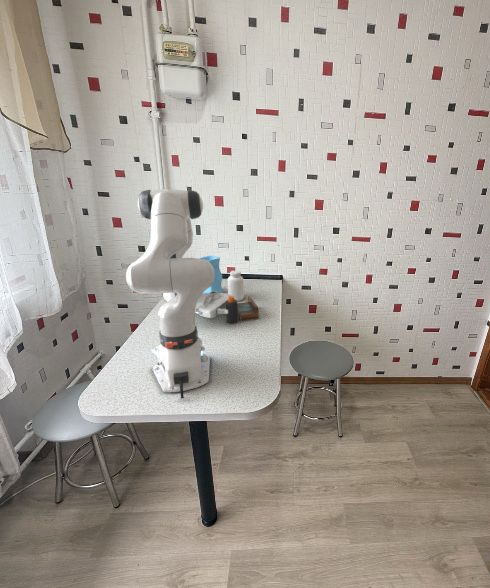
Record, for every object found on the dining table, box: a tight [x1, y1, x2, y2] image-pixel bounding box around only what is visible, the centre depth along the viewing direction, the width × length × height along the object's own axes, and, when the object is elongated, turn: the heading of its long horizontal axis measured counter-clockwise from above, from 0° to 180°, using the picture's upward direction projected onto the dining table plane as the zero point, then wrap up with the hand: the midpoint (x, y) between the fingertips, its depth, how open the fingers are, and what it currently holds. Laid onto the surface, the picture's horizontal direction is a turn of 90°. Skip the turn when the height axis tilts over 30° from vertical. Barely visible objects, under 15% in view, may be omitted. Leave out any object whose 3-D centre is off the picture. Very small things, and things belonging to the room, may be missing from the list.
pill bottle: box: [227, 270, 245, 302], centre depth 173 cm, size 8×8×15 cm
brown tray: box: [237, 295, 259, 322], centre depth 158 cm, size 14×8×6 cm, turn 26°
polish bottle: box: [225, 296, 239, 325], centre depth 149 cm, size 5×5×12 cm
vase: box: [199, 254, 224, 293], centre depth 178 cm, size 8×8×20 cm
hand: (233, 307), depth 148 cm, fingers open, 7 cm apart
